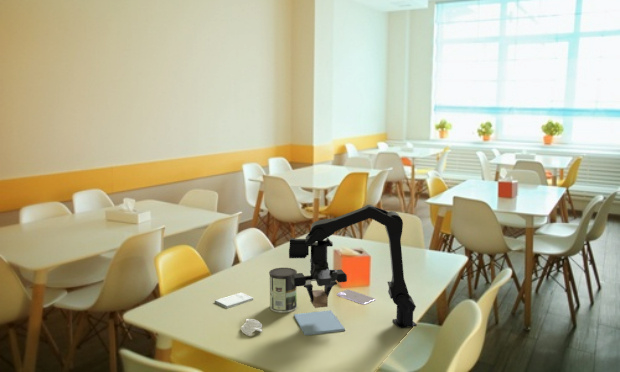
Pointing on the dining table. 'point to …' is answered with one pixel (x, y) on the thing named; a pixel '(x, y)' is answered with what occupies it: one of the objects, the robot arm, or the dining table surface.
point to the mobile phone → (356, 297)
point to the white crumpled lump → (251, 326)
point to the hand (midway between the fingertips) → (318, 301)
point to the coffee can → (282, 290)
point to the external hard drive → (233, 300)
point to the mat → (318, 322)
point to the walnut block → (319, 299)
